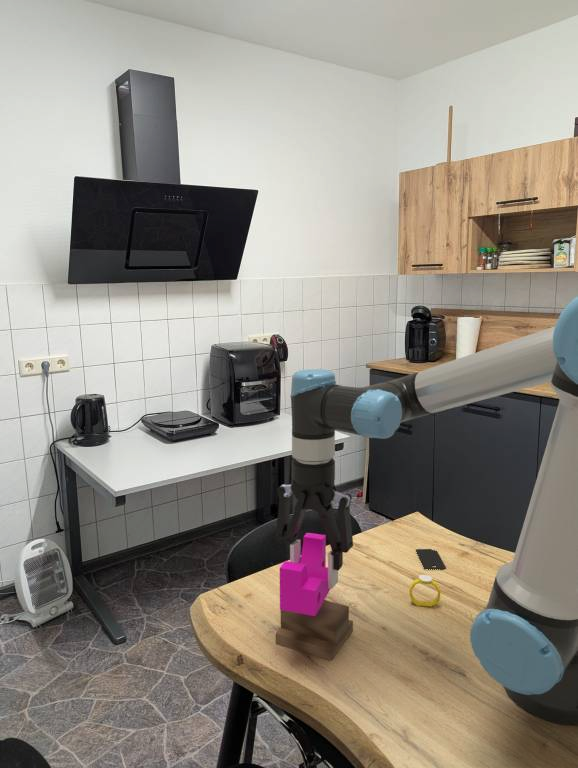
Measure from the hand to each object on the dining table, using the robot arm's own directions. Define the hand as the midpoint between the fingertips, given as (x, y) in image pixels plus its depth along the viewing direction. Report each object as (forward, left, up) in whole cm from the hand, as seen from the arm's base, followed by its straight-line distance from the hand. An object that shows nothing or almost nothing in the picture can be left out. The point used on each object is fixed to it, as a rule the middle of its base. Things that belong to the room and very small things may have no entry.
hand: (314, 580), depth 106 cm
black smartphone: (-11, -40, -12) cm, 43 cm away
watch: (-15, -20, -12) cm, 28 cm away
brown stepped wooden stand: (0, 0, -11) cm, 11 cm away
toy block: (0, +2, -1) cm, 2 cm away
